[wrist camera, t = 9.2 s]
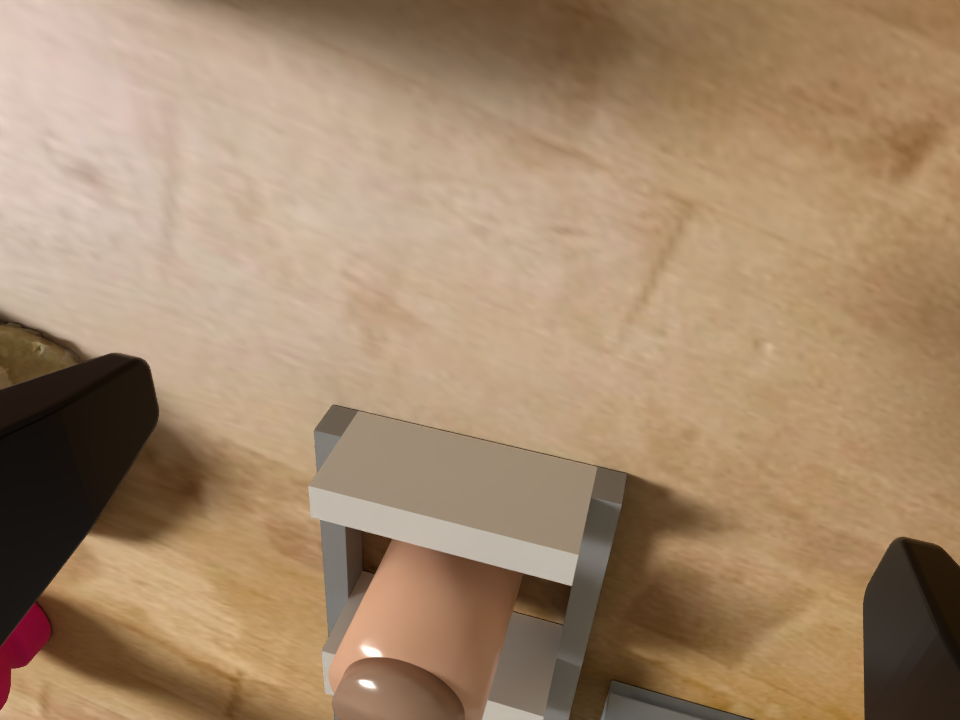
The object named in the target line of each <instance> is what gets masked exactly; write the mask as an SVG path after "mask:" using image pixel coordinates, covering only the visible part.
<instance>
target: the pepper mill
mask: <svg viewBox="0 0 960 720" xmlns="http://www.w3.org/2000/svg"><path fill="white" fill-rule="evenodd" d="M50 635H51V627H50V623H49V621H48V618H47V617H46V615H45V613H44V612H43V611H42V609H41V608H40V607H39V606H38V605H37V603H36V602H35V603H34V604H33V606H32V607H31V608H30V610H29V611H28V612H27V614H26V615H25V616H24V618H23V619H22V620H21V621H20V623H19V624H18V625H17V627H16V628H15V629H14V631H13V632H12V633H11V634H10V636H9V637H8V638H7V640H6V641H5V642H4V644H3V645H2V646H1V647H0V710H1V709H2V708H3V706H4V704H5V703H6V701H7V698H8V695H9V692H10V686H11V668H12V669H15V668H20V667H24V666H26V665H27V664H28V663H29V662H30V661H31V660H32V659H33V657H34V656H35V655H36V654H37V653H38V652H39V651H40V649H41V648H42V647H43V646H44V645H45V644H46V643H47V641H48V640H49V638H50Z"/></svg>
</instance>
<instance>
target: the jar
mask: <svg viewBox="0 0 960 720" xmlns="http://www.w3.org/2000/svg"><path fill="white" fill-rule="evenodd" d="M523 574H524V573H521V572H517V571H513V570H509V569H505V568H502V567H498V566H494V565H490V564H486V563H483V562H479V561H475V560H471V559H467V558H464V557H460V556H456V555H452V554H449V553H445V552H441V551H437V550H433V549H430V548H426V547H422V546H418V545H414V544H411V543H407V542H403V541H399V540H395V539H392V541H391V543H390V545H389V547H388V549H387V551H386V553H385V555H384V557H383V559H382V561H381V563H380V565H379V567H378V569H377V571H376V573H375V575H374V577H373V579H372V581H371V583H370V585H369V587H368V589H367V591H366V593H365V595H364V597H363V599H362V601H361V604H360V606H359V608H358V610H357V612H356V614H355V616H354V618H353V620H352V622H351V624H350V626H349V628H348V630H347V632H346V634H345V636H344V638H343V640H342V642H341V644H340V646H339V648H338V650H337V652H336V654H335V656H334V658H333V660H332V662H331V664H330V667H329V671H328V678H329V683H330V686H331V689H332V691H333V693H334V696H333V701H332V705H333V710H334V713H335V715H336V717H337V719H338V720H482V718H483V714H484V711H485V707H486V704H487V700H488V697H489V693H490V690H491V686H492V683H493V679H494V676H495V672H496V669H497V665H498V662H499V658H500V655H501V651H502V648H503V644H504V641H505V637H506V634H507V630H508V627H509V623H510V620H511V616H512V613H513V609H514V606H515V602H516V599H517V595H518V592H519V588H520V585H521V581H522V578H523Z"/></svg>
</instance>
